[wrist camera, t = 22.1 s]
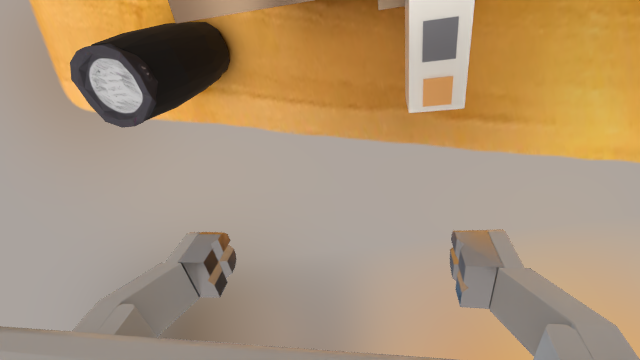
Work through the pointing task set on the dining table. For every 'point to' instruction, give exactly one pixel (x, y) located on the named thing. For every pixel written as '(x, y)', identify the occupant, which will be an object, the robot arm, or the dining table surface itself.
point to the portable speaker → (149, 70)
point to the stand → (239, 7)
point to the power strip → (437, 53)
